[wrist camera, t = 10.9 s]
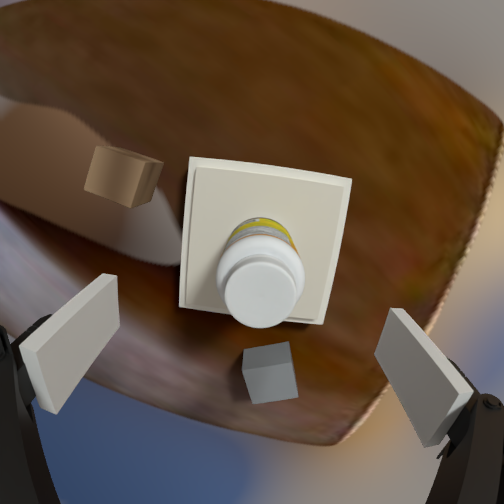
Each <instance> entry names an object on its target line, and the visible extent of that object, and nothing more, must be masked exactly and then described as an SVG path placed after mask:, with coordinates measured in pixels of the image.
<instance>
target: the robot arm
mask: <svg viewBox="0 0 504 504" xmlns="http://www.w3.org/2000/svg"><path fill="white" fill-rule="evenodd" d="M119 327H120V322H119V309H118V291H117V276H116V275H110V274H104V273H103V274H102V275H100V276H99V277H98V278H97V279H95V280H94V281H93V282H92V283H90V284H89V285H88V286H87V287H86V288H84V289H83V290H82V291H81V292H79V293H78V294H77V295H76V296H75V297H73V298H72V299H71V300H70V301H69V302H67V303H66V304H65V305H64V306H63V307H62V308H60V309H59V310H58V311H57V312H56V313H55V314H53V315H51V314H49V315H47V316H44V317H42V318H40V319H39V320H38V321H36V322H35V323H34V324H33V326H31V327H29V328H28V329H27V331H25V332H24V333H23V334H21V335H20V336H19V337H18V338H17V339H16V340H15V341H14V342H13V343H11V344H10V342H9V339H8V335H7V331H6V329H5V328H4V327H3V326H1V325H0V504H61V503H60V501H59V498H58V495H57V493H56V490H55V487H54V484H53V482H52V479H51V475H50V472H49V469H48V466H47V463H46V459H45V456H44V452H43V449H42V445H41V441H40V437H39V433H38V428H37V424H36V419H35V414H34V410H33V407H32V404H31V402H32V400H33V399H34V398H35V396H36V398H37V400H38V403H39V406H40V408H42V409H45V410H47V411H49V412H52V413H54V414H57V413H58V412H59V410H60V409H61V407H62V406H63V405H64V403H65V402H66V400H67V399H68V397H69V396H70V394H71V393H72V391H73V390H74V388H75V387H76V385H77V384H78V383H79V381H80V380H81V378H82V377H83V376H84V374H85V373H86V371H87V370H88V369H89V367H90V366H91V364H92V363H93V362H94V360H95V359H96V358H97V356H98V355H99V353H100V352H101V351H102V349H103V348H104V347H105V345H106V344H107V343H108V341H109V340H110V339H111V337H112V336H113V335H114V333H115V332H116V331H117V329H118V328H119ZM374 355H375V357H376V359H377V360H378V362H379V364H380V366H381V367H382V369H383V371H384V373H385V375H386V376H387V378H388V380H389V382H390V384H391V385H392V387H393V389H394V391H395V392H396V394H397V397H398V398H399V400H400V402H401V404H402V406H403V408H404V410H405V412H406V413H407V415H408V417H409V419H410V421H411V423H412V425H413V427H414V429H415V431H416V433H417V435H418V437H419V439H420V440H421V443H422V445H423V446H424V448H425V447H430V446H434V445H439V444H440V442H441V441H442V440H443V438H444V437H445V435H446V434H448V436H449V438H450V440H449V442H448V443H447V444H446V446H445V447H444V448H443V450H442V451H441V452H440V454H439V455H438V456H437V459H439V458H440V456H442V455H443V457H442V460H441V463H440V466H439V469H438V472H437V475H436V478H435V480H434V483H433V486H432V488H431V491H430V493H429V496H428V498H427V501H426V503H425V504H504V406H503V404H502V403H501V401H500V400H499V399H498V398H497V397H495V396H493V395H491V394H480V393H479V392H478V390H477V389H476V388H475V387H474V386H473V384H472V383H471V382H470V381H469V379H468V378H467V377H465V375H464V373H463V372H462V371H460V369H459V368H458V366H457V365H456V364H455V363H454V362H453V361H451V360H450V359H448V358H447V357H445V356H444V355H443V354H442V352H441V351H440V350H439V349H438V347H437V346H436V345H435V344H434V343H433V342H432V341H431V339H430V338H429V337H428V336H427V335H426V334H425V333H424V331H423V330H422V329H421V328H420V327H419V326H418V325H417V324H416V323H415V321H414V320H413V319H412V318H411V317H410V316H409V315H408V314H407V313H406V312H405V311H404V309H399V308H390V310H389V313H388V316H387V319H386V322H385V325H384V328H383V331H382V334H381V337H380V340H379V343H378V346H377V348H376V351H375V354H374Z"/></svg>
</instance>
